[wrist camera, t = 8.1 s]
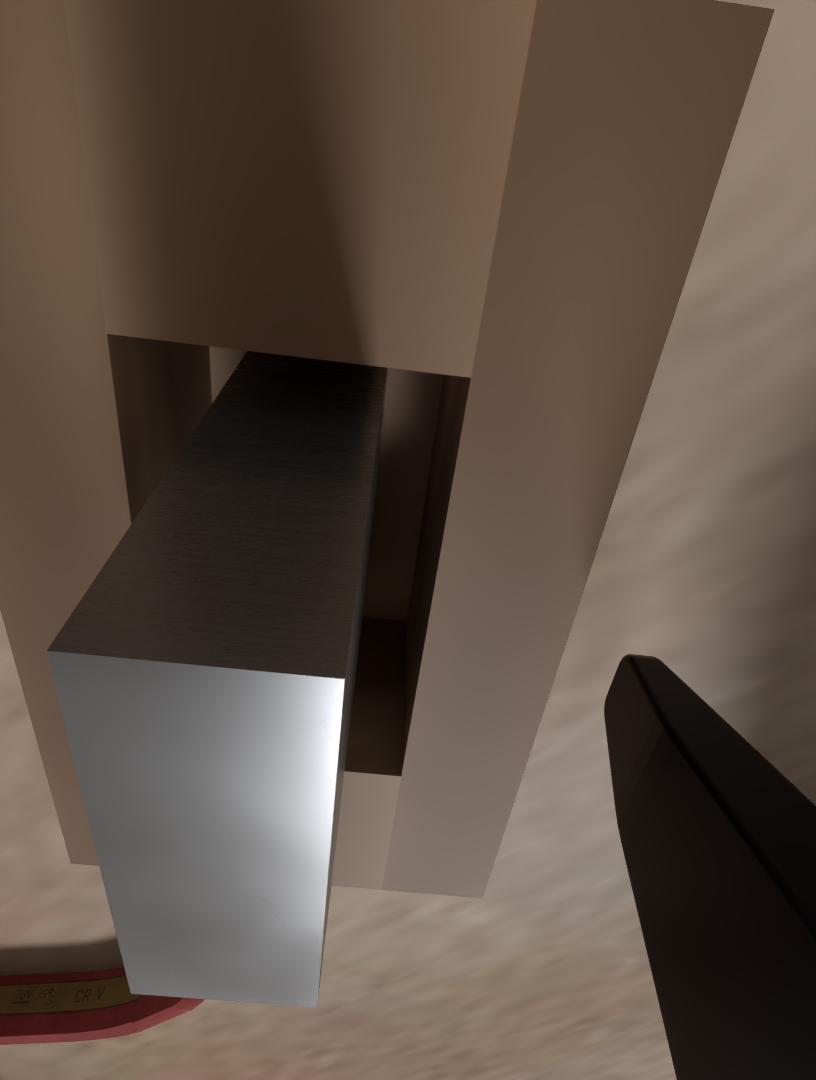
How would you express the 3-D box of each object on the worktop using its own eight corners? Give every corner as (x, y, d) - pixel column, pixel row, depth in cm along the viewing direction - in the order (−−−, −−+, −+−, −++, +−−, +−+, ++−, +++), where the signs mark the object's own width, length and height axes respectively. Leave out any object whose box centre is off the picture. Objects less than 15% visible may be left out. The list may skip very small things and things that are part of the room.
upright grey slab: (392, 330, 11) (344, 679, 5) (368, 571, 14) (316, 1007, 7) (270, 315, 11) (46, 650, 5) (270, 561, 14) (131, 993, 7)
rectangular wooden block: (628, 41, 10) (773, 9, 6) (468, 706, 18) (482, 898, 14) (68, -41, 10) (-207, -137, 5) (155, 676, 17) (70, 863, 13)
